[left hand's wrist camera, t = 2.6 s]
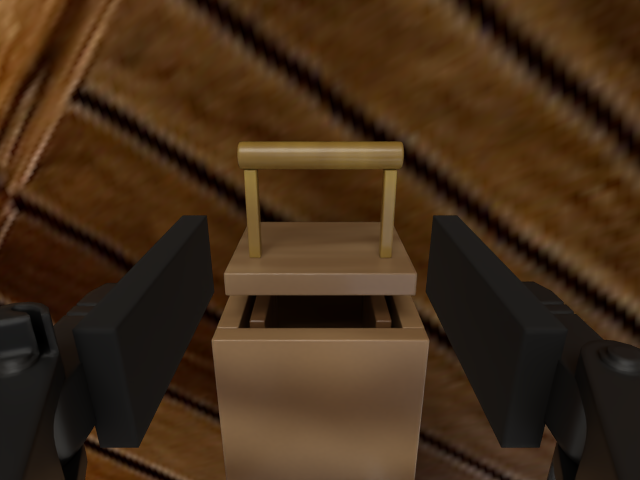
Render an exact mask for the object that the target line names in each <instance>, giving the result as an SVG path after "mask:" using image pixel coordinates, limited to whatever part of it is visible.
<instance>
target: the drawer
mask: <svg viewBox="0 0 640 480" xmlns="http://www.w3.org/2000/svg"><path fill="white" fill-rule="evenodd" d="M237 158H238V165H239V167H240V169H245V170H244V181H245V197H246V212H247V227H246V229H245V231H244V233H243V235H242V238H241V240H240V242H239V244H238V246H237V248H236V250H235V252H234V254H233V256H232V258H231V260H230V262H229V264H228V267H227V269H226V271H225V273H224V282H225V293H226V295H257V297H256V300H255V304H254V307H253V311H252V314H251V318H250V321H249V322H250V328H391V322H392V321H391V318H390V314H389V311H388V307H387V304H386V301H385V297H384V295H415V293H416V282H417V273H416V271H415V269H414V267H413V265H412V262H411V260H410V258H409V256H408V254H407V252H406V250H405V248H404V246H403V244H402V242H401V240H400V238H399V236H398V234H397V232H396V230H395V228H394V212H395V197H396V182H397V170H396V169H401V168H402V165H403V159H404V148H403V144H402V142H239V144H238V149H237ZM258 169H383V184H382V203H381V222H260V203H259V184H258Z"/></svg>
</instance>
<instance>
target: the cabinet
mask: <svg viewBox="0 0 640 480" xmlns="http://www.w3.org/2000/svg"><path fill="white" fill-rule="evenodd" d="M256 297H257V295H230V297H229V299H228V302H227V304H226V306H225V309H224V311H223V314H222V316H221V319H220V321H219V324H218V326H217V329H216V331H215V334H214V336H213V339H212V349H213V358H214V367H215V377H216V386H217V396H218V405H219V415H220V424H221V433H222V443H223V452H224V462H225V471H226V480H414V479H415V470H416V460H417V451H418V442H419V432H420V423H421V414H422V405H423V395H424V386H425V377H426V367H427V358H428V349H429V339H428V336H427V334H426V331H425V329H424V326H423V324H422V321H421V319H420V316H419V314H418V312H417V309H416V307H415V304H414V302H413V299H412V297H411V295H384V297H385V301H386V304H387V307H388V311H389V314H390V318H391V321H392V322H391V328H250V322H249V321H250V318H251V314H252V311H253V307H254V304H255V300H256Z"/></svg>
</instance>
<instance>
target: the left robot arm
mask: <svg viewBox="0 0 640 480" xmlns="http://www.w3.org/2000/svg"><path fill="white" fill-rule="evenodd" d="M213 293H214V284H213V274H212V264H211V254H210V244H209V234H208V224H207V216H182V217H181V218H180V219H179V220H178V221H177V222H176V223H175V224H174V225H173V226H172V227H171V228H170V229H169V230H168V231H167V232H166V233H165V235H164V236H163V237H162V238H161V239H160V240H159V241H158V242H157V243H156V244H155V245H154V246H153V247H152V248H151V249H150V250H149V251H148V252H147V253H146V254H145V255H144V256H143V257H142V258H141V259H140V260H139V261H138V262H137V263H136V264H135V265H134V266H133V268H132V269H131V270H130V271H129V272H128V273H127V274H126V275H125V276H124V277H123V278H122V279H121V280H120V281H119V282H118V283H106V284H104V285H102V286H100V287H99V288H97V289H95V290H93V291H91V292H89V293H88V294H87V295H86V296H85V297H84V298H82V299H81V300H80V301H79V302H78V303H77V306H74V307H73V308H72V309H71V310H70V311H69V312H68V313H67V316H63V317H62V318H61V319H60V320H59V321H58V322H57V323H56V324H55V325H54V326H53V323H52V320H51V316H50V312H49V308H48V307H47V306H45V305H43V304H42V303H34V302H23V303H13V304H8V305H4V306H0V480H85V475H86V468H87V456H86V451H85V447H84V442H85V440H86V438H87V437H88V435H89V434H90V432H91V431H92V429H93V427H94V426H95V427H96V431H97V435H98V440H99V444H100V448H139V446H140V443H141V441H142V439H143V437H144V435H145V433H146V431H147V429H148V427H149V425H150V423H151V421H152V419H153V417H154V415H155V413H156V411H157V408H158V406H159V404H160V402H161V400H162V398H163V396H164V394H165V392H166V390H167V388H168V386H169V384H170V382H171V380H172V378H173V376H174V374H175V371H176V369H177V367H178V365H179V363H180V361H181V359H182V357H183V355H184V353H185V351H186V349H187V347H188V345H189V343H190V341H191V339H192V336H193V334H194V332H195V330H196V328H197V326H198V324H199V322H200V320H201V318H202V316H203V314H204V312H205V310H206V308H207V306H208V304H209V301H210V299H211V297H212V295H213ZM426 293H427V295H428V297H429V299H430V302H431V304H432V306H433V308H434V310H435V312H436V314H437V316H438V318H439V320H440V322H441V324H442V326H443V328H444V330H445V332H446V334H447V336H448V339H449V341H450V343H451V345H452V347H453V349H454V351H455V353H456V355H457V357H458V359H459V361H460V363H461V365H462V367H463V369H464V371H465V374H466V376H467V378H468V380H469V382H470V384H471V386H472V388H473V390H474V392H475V394H476V396H477V398H478V400H479V402H480V404H481V406H482V408H483V411H484V413H485V415H486V417H487V419H488V421H489V423H490V425H491V427H492V429H493V431H494V433H495V435H496V437H497V439H498V441H499V443H500V446H501V448H540V444H541V440H542V435H543V431H544V427H545V424H546V425H547V427H548V428H549V430H550V431H551V433H552V435H553V436H554V438H555V439H556V441H557V443H556V447H555V451H554V455H553V458H552V462H551V466H550V470H549V474H548V478H547V480H640V349H639V348H637V347H634V346H632V345H629V344H625V343H621V342H617V341H611V340H603V339H602V338H601V337H600V336H599V335H598V334H597V333H596V332H595V331H594V330H593V329H592V328H590V327H589V326H588V325H587V324H586V323H585V322H584V321H583V320H582V319H581V318H580V317H579V316H578V315H577V314H574V313H573V311H572V310H571V309H570V308H569V307H568V306H567V305H564V302H563V301H562V300H561V299H559V298H558V297H557V296H556V295H555V294H554V293H553V292H552V291H550V290H548V289H547V288H545V287H543V286H541V285H539V284H537V283H535V282H521V281H520V280H519V279H518V278H517V277H516V276H515V275H514V274H513V273H512V272H511V271H510V270H509V269H508V268H507V266H506V265H505V264H504V263H503V262H502V261H501V260H500V259H499V258H498V257H497V256H496V255H495V254H494V253H493V252H492V251H491V250H490V249H489V248H488V247H487V246H486V245H485V244H484V243H483V242H482V241H481V240H480V239H479V238H478V237H477V236H476V235H475V233H474V232H473V231H472V230H471V229H470V228H469V227H468V226H467V225H466V224H465V223H464V222H463V221H462V220H461V219H460V218H459V217H458V216H433V224H432V234H431V244H430V254H429V264H428V274H427V284H426Z"/></svg>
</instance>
